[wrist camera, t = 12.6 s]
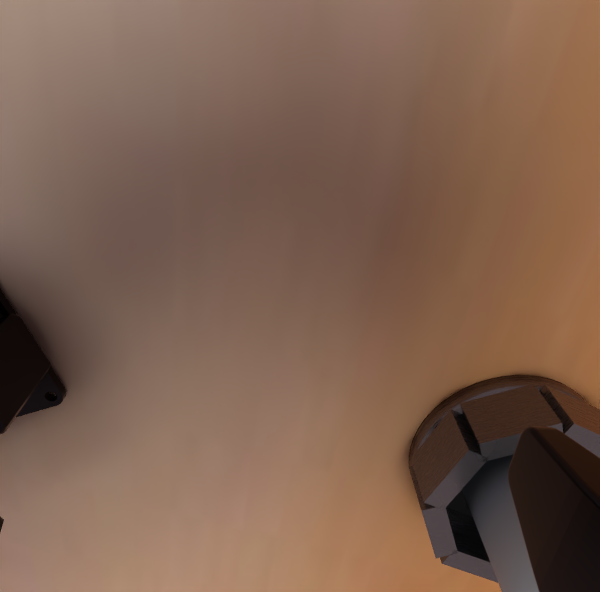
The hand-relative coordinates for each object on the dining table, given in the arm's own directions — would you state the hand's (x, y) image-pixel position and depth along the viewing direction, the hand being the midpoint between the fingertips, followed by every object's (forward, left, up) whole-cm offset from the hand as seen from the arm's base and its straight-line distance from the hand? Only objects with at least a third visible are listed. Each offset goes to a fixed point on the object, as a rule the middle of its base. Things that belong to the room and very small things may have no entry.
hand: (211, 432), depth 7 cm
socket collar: (+7, -16, -13) cm, 22 cm away
